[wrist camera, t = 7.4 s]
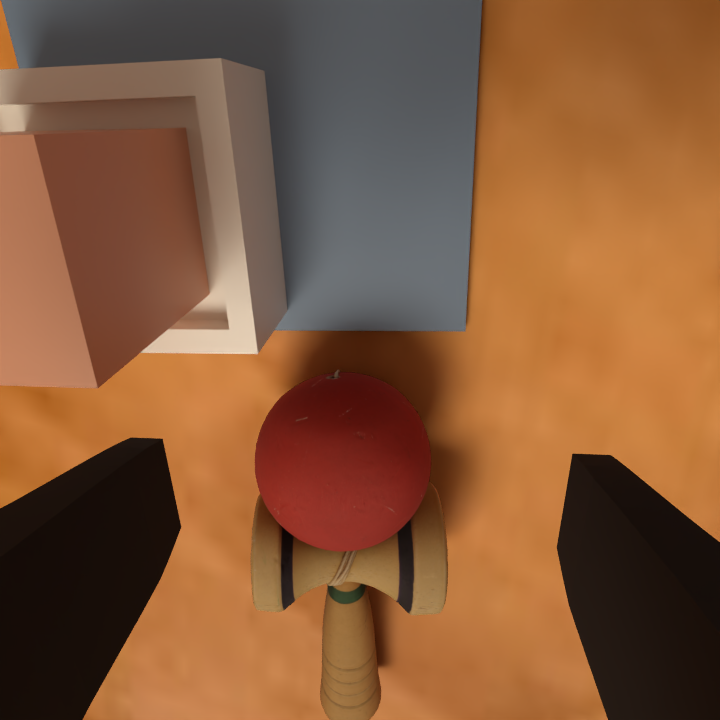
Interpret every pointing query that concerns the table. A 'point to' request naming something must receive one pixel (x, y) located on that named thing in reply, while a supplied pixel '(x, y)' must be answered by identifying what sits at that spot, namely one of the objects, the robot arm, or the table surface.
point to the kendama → (347, 521)
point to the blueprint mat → (326, 134)
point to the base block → (209, 168)
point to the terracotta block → (93, 250)
